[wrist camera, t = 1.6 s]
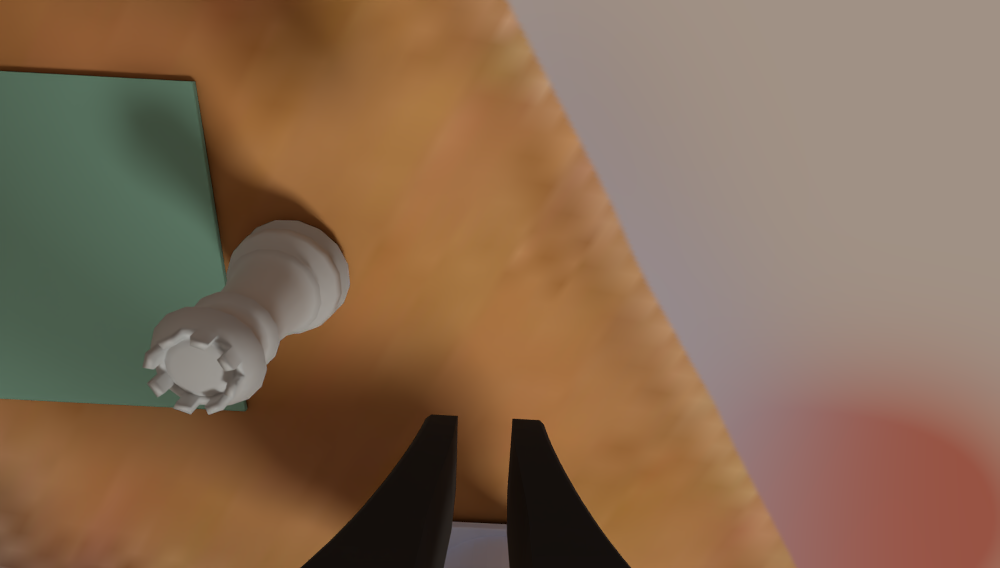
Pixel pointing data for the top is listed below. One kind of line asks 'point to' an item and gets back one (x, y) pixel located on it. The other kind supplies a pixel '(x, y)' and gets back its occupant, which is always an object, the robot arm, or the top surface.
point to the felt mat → (99, 232)
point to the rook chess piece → (248, 316)
